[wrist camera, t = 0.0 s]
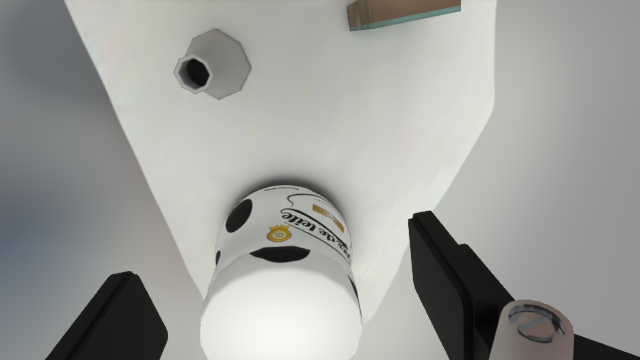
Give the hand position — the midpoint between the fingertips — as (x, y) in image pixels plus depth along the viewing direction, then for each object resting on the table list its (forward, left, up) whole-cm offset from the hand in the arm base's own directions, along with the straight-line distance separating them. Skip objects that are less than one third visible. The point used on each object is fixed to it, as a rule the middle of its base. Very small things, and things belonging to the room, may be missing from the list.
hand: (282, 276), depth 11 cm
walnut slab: (-8, +12, -31) cm, 34 cm away
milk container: (+18, -4, -32) cm, 36 cm away
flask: (-6, -7, -32) cm, 33 cm away
